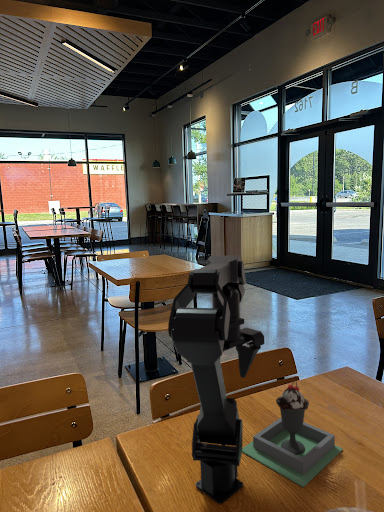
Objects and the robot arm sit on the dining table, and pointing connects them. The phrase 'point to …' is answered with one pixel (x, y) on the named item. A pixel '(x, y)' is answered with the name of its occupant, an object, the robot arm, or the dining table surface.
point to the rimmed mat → (286, 463)
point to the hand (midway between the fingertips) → (228, 384)
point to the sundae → (292, 416)
